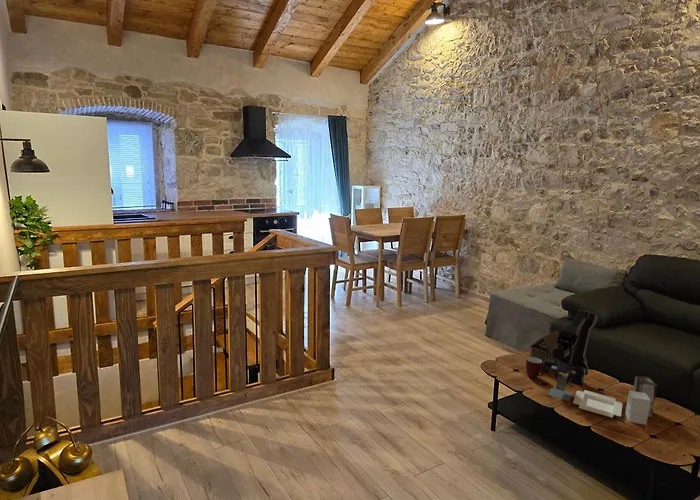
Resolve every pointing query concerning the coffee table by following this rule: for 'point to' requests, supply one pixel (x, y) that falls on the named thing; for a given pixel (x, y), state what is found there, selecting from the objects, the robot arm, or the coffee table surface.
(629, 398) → the supplement box
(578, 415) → the coffee table surface
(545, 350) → the model building
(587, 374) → the robot arm
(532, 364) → the mug
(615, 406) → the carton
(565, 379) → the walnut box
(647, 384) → the coffee box
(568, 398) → the slate mat
